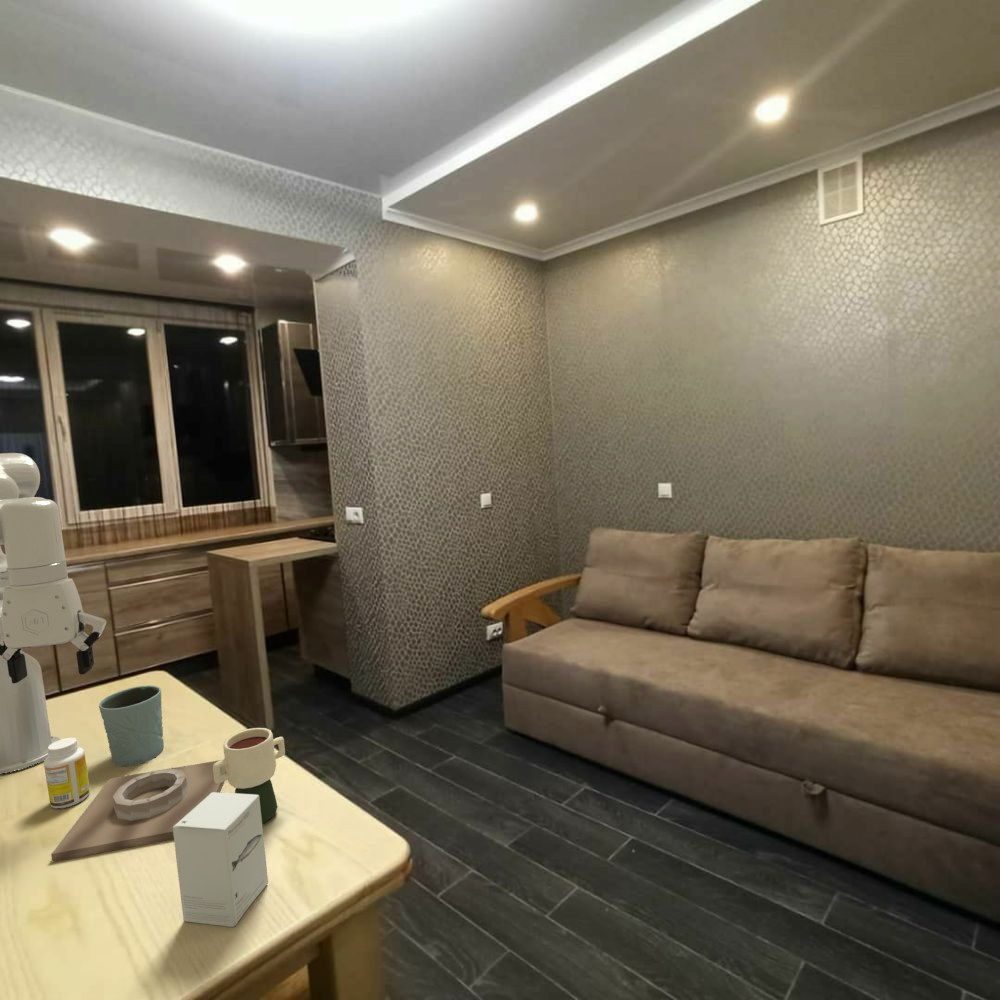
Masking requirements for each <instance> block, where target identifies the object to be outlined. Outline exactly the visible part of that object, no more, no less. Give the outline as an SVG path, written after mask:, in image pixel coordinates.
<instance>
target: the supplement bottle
mask: <svg viewBox="0 0 1000 1000" xmlns="http://www.w3.org/2000/svg"><path fill="white" fill-rule="evenodd" d="M60 739H61V740H59V741H56V742H54V743H52V744H51V745H49V746H48V755H49V756H48V757H47V758H46V759H45V761H43V767H44V769H43V770H44V773H45V774H44V775H45V780H46V787H47V792H48V793H47V794H48V800H49V804H50V807H51V808H53V809H57V808H61V809H66V808H65V807H67V808H70V807H72V805H73V806H74V805H77V804H79V803H81V802H82V801H84V800H85V799H87V797H88V796H89V795H90V793H91V789H90V782H89V775H88V767H87V762H86V754H85V749H84V748H83V747H80V746H79V744H78V741H77V740H78V739H77V738H75V737H66V738H60ZM69 806H70V807H69Z"/></svg>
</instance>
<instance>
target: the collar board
mask: <svg viewBox="0 0 1000 1000" xmlns="http://www.w3.org/2000/svg"><path fill="white" fill-rule="evenodd" d="M221 760H222V759H219V760H214V761H207V762H201V763H195V764H190V765H184V766H177V767H170V768H164V769H158V770H157V769H156V770H152V771H148V772H141V773H135V774H129V775H123V776H118V777H117V776H116V777H111V778H109V779H108V780H107V782H105V784H104V785H103V786H102V788H101V789H100V790H99V792H98V793H97V794H96V796H95V797H94V798H93V800H91V802H90V803H89V805H88V806H87V808H85V810H84V811H83V813H82V814H81V815H80V816H79V817H78V819H76V821H75V823H74V824H73V825H72V827H71V828H70V829H69V830H68V832H67V833H66V834H65V836H64V837H63V838H62V839H61V841H60V842H59V843H58V844H57V846H56V847H55V848H54V850H53V851H52V852H51V854H50V856H51V857H50V858H51V862H52V861H54V862H58V860H60V861H64V859H65V860H70V859H75V858H79V857H80V858H81V857H85V856H91V855H95V854H101V853H106V852H113V851H117V850H123V849H128V848H132V847H133V848H134V847H138V846H144V845H149V844H155V843H158V842H160V843H161V842H164V841H170V840H174V835H173V826H174V825H176V824H177V823H178V822H179V821H180V820H181V819H182V818H184V817H185V816H186V815H187V814H188V813H189V812H190V811H191V810H192V809H194V808H195V807H196V806H197V805H198V804H199V803H200V802H201V801H203V800H204V799H205V798H206V797H207V796H208V795H209V794H210V793H212V792H217V793H221V791H222V789H223V786H224V784H225V782H226V781H224V782H222V783H217V784H216V783H215V781H214V774H213V765H214V764H215V763H216V762H218V761H221ZM220 773H221V776H222V775H224V774H226V766H223V767H221V768H220ZM69 858H70V859H69Z"/></svg>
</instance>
